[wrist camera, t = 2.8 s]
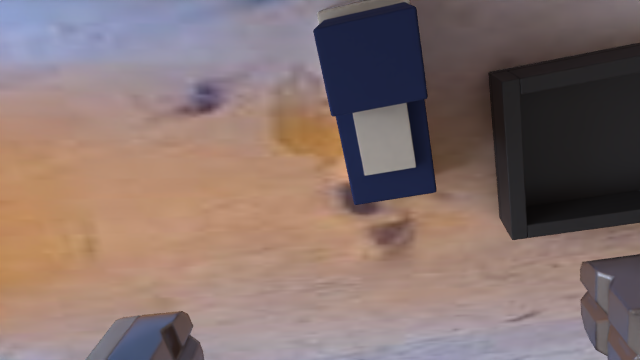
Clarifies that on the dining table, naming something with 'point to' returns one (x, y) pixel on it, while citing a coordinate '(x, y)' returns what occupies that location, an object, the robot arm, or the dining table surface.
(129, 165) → the dining table surface
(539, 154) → the tray
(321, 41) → the navy notched block
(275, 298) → the dining table surface
